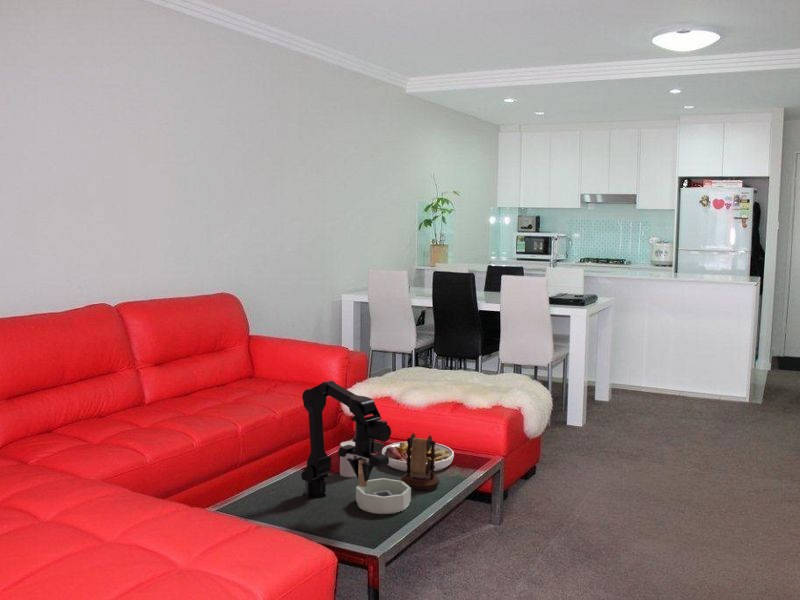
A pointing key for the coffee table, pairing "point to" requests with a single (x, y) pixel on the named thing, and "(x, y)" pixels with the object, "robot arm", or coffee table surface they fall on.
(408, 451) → the scroll
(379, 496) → the octagonal white bin
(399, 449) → the bowl
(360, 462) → the beige rounded cylinder
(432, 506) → the coffee table surface
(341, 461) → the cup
